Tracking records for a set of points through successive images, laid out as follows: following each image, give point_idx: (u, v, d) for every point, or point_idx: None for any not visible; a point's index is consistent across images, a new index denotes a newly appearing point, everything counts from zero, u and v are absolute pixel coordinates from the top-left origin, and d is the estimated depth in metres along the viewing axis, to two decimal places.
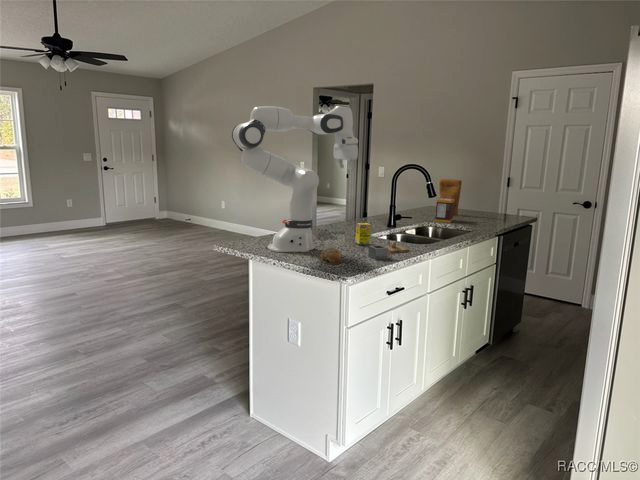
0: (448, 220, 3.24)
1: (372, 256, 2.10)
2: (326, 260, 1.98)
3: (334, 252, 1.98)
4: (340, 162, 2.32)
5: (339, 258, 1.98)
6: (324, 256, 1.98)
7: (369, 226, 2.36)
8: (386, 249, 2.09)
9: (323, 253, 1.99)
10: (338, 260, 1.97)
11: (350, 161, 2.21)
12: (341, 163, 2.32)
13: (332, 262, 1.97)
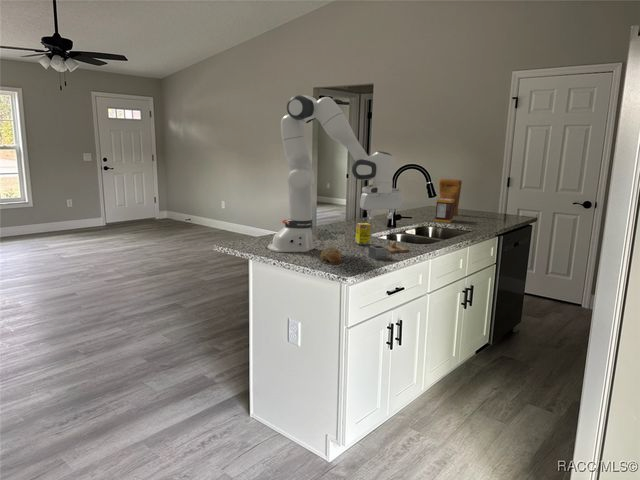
0: (448, 220, 3.24)
1: (372, 256, 2.10)
2: (326, 260, 1.98)
3: (334, 252, 1.98)
4: (391, 212, 2.10)
5: (339, 258, 1.98)
6: (324, 256, 1.98)
7: (369, 226, 2.36)
8: (386, 249, 2.09)
9: (323, 253, 1.99)
10: (338, 260, 1.97)
11: (367, 210, 2.06)
12: (390, 213, 2.10)
13: (332, 262, 1.97)
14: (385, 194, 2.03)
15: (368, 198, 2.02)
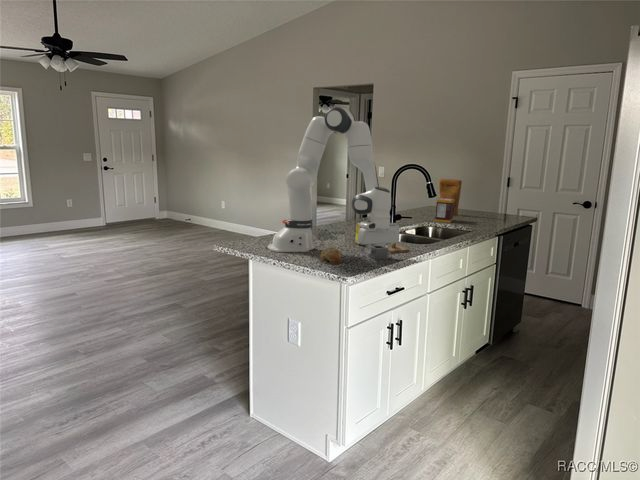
0: (448, 220, 3.24)
1: (372, 256, 2.10)
2: (326, 260, 1.98)
3: (334, 252, 1.98)
4: (386, 246, 2.13)
5: (339, 258, 1.98)
6: (324, 256, 1.98)
7: None
8: (386, 249, 2.09)
9: (323, 253, 1.99)
10: (338, 260, 1.98)
11: (367, 245, 2.09)
12: None
13: (332, 262, 1.97)
14: (383, 229, 2.07)
15: (366, 233, 2.05)
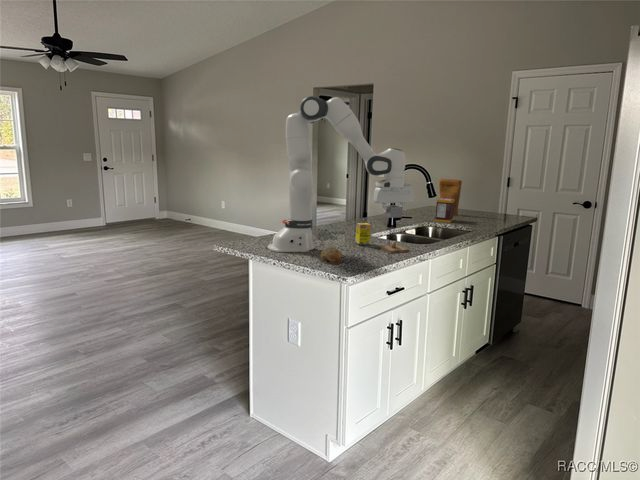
0: (448, 220, 3.24)
1: (387, 215, 2.19)
2: (326, 260, 1.98)
3: (334, 252, 1.98)
4: (401, 206, 2.21)
5: (339, 258, 1.98)
6: (324, 256, 1.99)
7: (369, 226, 2.36)
8: (401, 208, 2.18)
9: (323, 253, 2.00)
10: (338, 260, 1.98)
11: (382, 204, 2.18)
12: None
13: (332, 262, 1.97)
14: (397, 188, 2.15)
15: (381, 192, 2.13)
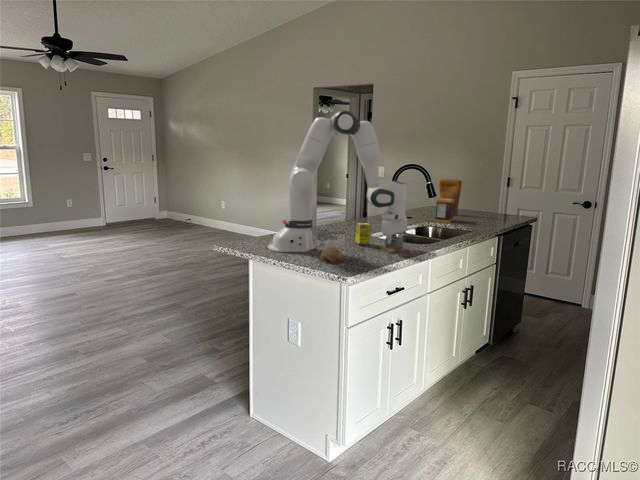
0: (448, 220, 3.24)
1: (391, 247, 2.26)
2: (326, 259, 1.99)
3: (334, 251, 1.99)
4: (399, 235, 2.32)
5: (339, 257, 1.99)
6: (324, 255, 1.99)
7: (369, 226, 2.36)
8: (402, 239, 2.28)
9: (323, 252, 2.00)
10: (338, 259, 1.98)
11: (387, 235, 2.23)
12: (399, 236, 2.32)
13: (332, 261, 1.98)
14: (401, 219, 2.24)
15: (391, 225, 2.19)
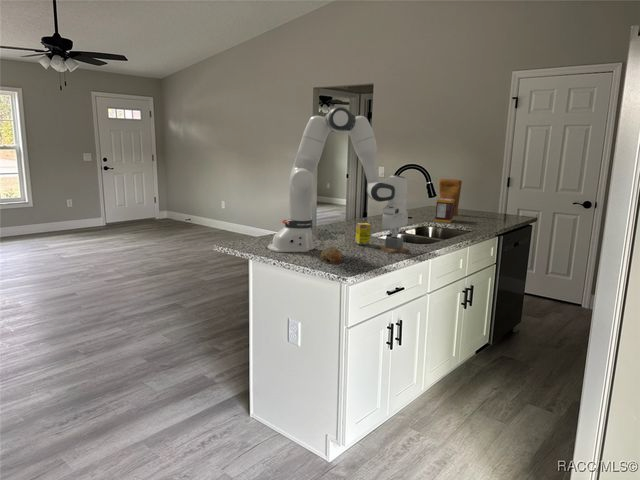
0: (448, 220, 3.24)
1: (391, 247, 2.26)
2: (326, 259, 1.99)
3: (334, 251, 1.99)
4: (396, 230, 2.28)
5: (339, 257, 1.99)
6: (324, 255, 1.99)
7: (369, 226, 2.36)
8: (402, 239, 2.28)
9: (323, 252, 2.00)
10: (338, 259, 1.98)
11: (392, 229, 2.25)
12: (396, 231, 2.28)
13: (332, 261, 1.98)
14: (402, 214, 2.24)
15: (392, 219, 2.18)
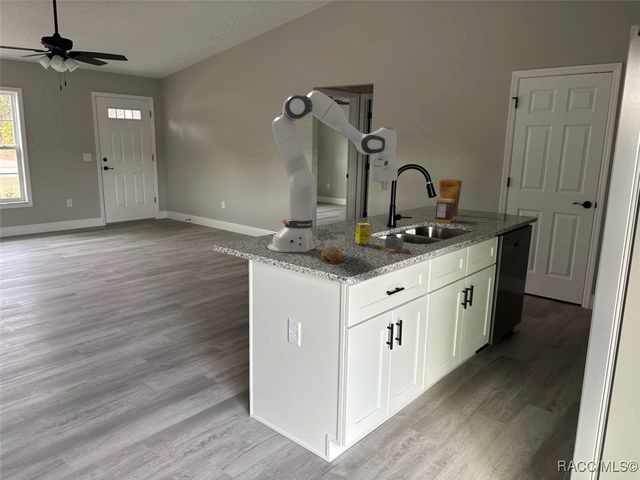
0: (448, 220, 3.24)
1: (391, 247, 2.26)
2: (327, 259, 1.99)
3: (334, 251, 1.99)
4: (385, 184, 2.28)
5: (339, 257, 1.99)
6: (325, 255, 1.99)
7: (369, 226, 2.36)
8: (402, 239, 2.28)
9: (324, 252, 2.00)
10: (338, 259, 1.99)
11: (381, 182, 2.25)
12: (386, 185, 2.27)
13: (332, 261, 1.98)
14: (391, 167, 2.23)
15: (381, 171, 2.18)
